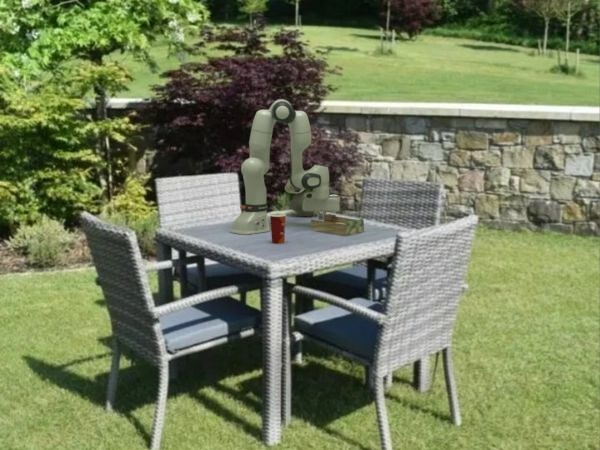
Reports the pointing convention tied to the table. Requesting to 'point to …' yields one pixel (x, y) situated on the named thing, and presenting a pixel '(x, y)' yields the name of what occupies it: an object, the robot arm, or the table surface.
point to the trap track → (339, 226)
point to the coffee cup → (278, 226)
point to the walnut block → (330, 218)
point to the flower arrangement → (297, 199)
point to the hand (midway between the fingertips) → (321, 219)
